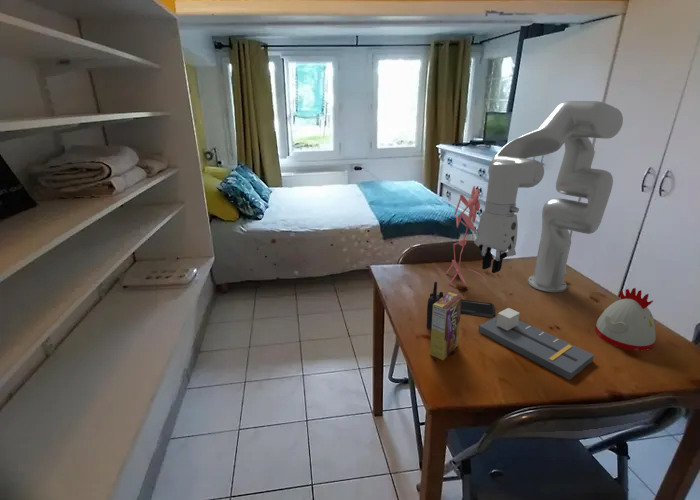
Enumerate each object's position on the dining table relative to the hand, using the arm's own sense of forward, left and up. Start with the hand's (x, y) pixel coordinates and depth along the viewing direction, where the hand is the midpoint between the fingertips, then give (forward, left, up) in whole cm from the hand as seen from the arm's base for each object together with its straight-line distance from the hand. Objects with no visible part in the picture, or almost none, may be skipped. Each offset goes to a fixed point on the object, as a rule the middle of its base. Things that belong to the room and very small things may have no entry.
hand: (491, 269), depth 112 cm
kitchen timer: (-25, +29, -17) cm, 42 cm away
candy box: (+21, +3, -17) cm, 27 cm away
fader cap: (0, +7, -15) cm, 17 cm away
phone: (-3, -7, -18) cm, 20 cm away
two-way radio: (+14, -7, -17) cm, 24 cm away
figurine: (-19, -21, -17) cm, 34 cm away
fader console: (0, +16, -17) cm, 23 cm away
